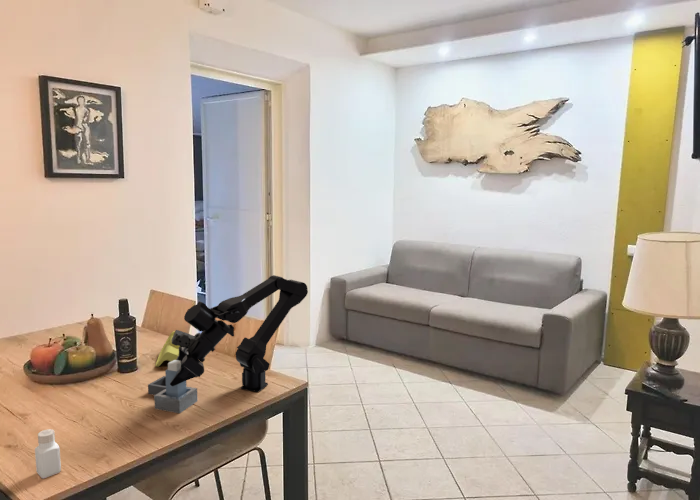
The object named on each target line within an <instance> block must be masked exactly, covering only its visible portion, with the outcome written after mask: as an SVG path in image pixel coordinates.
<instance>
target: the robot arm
mask: <svg viewBox="0 0 700 500" xmlns="http://www.w3.org/2000/svg"><path fill="white" fill-rule="evenodd" d="M277 291H279V296H278V300H277V302H276V304H274V306H273V308H272V309H271V310H270V312H269V314H268V315H267V316H266V318H265V319H264V321H263V322H262V324H261V325H260V327H259V328H258V329H257V331H256V332H255V334H254V335H253V336H252V337H250V338H247V337H244V338H243V339H242V341H241V343H240V344H239V345H237V347H236V352H235V359H236V361H237V363H239V365H240V367H241V368H243V369H242V373H241V384H242V386H241V387H240V389H241V390H244V391H250V392H256V393H259V392H261V391H262V390H263V389H264V388H266V387H267V386H268V385H269V383H268V382H266V371H268V370H269V369H270V363H269V362H268V361H267V360H266V359H265V358H264V357H265V355H266V352H267V345H268V343H269V342H270V341H271V339H272V338H273V336H274V335H275V334H276V332H277V330H278V328H279V327H280V326H281V324H282V323H283V321H284V320H285V318H286V317H287V315H288V314H289V312H290V311H291V310H292V309H293V308H294V307H296V306H298V305H300V304H301V303H302V302H303V300H304V299H305V298H306V297H307V296H308V293H309V290H308V285H307V284H306V283H305V282H303V281H299V280H296V279H295V280H294V279H287V278H283V277H282V276H279V275H270V276H269V277H268V278H267V279H265V280H264V281H262V282H261V283H259V284H257V285H256V286H253V287H252V288H251V289H249V290H247V291H246V292H244V293H243V294H241V295H238V296H233V297H230V298H227V299H224V300H222V301H220V303H219V304H217V305H215V306H213V307H210V308H209V307H208V306H207V305H206V304H205V303H204V302H202V301H198V302H197V303H196V304H194V305H192V306H191V307H190V308H188V309H187V310H186V311H185V314H184V317H183V318H184V321H185V322H187V324H189V325H190V326H192V327H193V328H195V329H196V330H197V331H199V332H197V333H196V334H194V335H192V334H190V333H188V332H184V331H182V330H179V329H175V330H174V331H175V333H174V335H173V337H172V340H171V341H172V344H173V345H176V346H177V345H178V346H180V347H179V355H178V357H177V359H176V360H179V361H181V368H180V370H179V371H178V373H177V374H176V375H175V377H174V378H173V380H172V381H171V383H170V385H171V386H175V385H177V384H179V383H182V382H184V381H186V382H187V381H189V380H192V379H194V378H200V377H201V376H202V375H203V374H204V373H205V366H204V362H205V360H206V359H205V358H206V357H207V356H208V354H210V353H211V352H212V353H213V352H214V351H215V350H216V349H215V347H216V346H217V345H219V343H220V342H221V341H222V340H223V339H224V338H225V337H226V335H229V336H231V337H234V336H235V327H234V325H233V324H236V323H238V322H239V321H241V320H242V319H243V318H245V316H246V315H247V314H248V312H249V310H250V309H251V308H252V307H254V306H255V305H257V304H258V303H261V302H262V301H263V300H265V299H266V298H268V297H270V296H271V295H273V294H274V293H276V292H277ZM217 319H218V320H217ZM225 321H226V322H228V323H230V324H227V323H226V322H225ZM231 323H232V324H231Z"/></svg>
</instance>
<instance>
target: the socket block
mask: <svg viewBox="0 0 700 500" xmlns="http://www.w3.org/2000/svg"><path fill="white" fill-rule="evenodd" d="M186 388H187V392H186V393H185V394H183V395H182V396H180V397H172V396H167V395H166V389H165V390H163V391H161V392H159V393H158V394H156V395H153V397H154V409H155V410H158V411H159V410H160V411H165V412H168V413H169V412H171V413H175V414H181V413H183V412H184V411H185V410H186V409H188V408H190V407H192V406H193V405H194V404H196V403H197V402H198V388H196V387H191V386H186Z"/></svg>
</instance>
